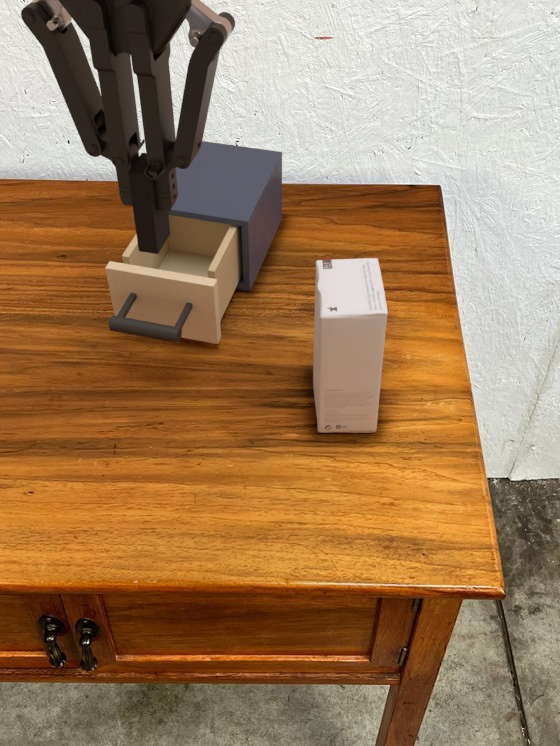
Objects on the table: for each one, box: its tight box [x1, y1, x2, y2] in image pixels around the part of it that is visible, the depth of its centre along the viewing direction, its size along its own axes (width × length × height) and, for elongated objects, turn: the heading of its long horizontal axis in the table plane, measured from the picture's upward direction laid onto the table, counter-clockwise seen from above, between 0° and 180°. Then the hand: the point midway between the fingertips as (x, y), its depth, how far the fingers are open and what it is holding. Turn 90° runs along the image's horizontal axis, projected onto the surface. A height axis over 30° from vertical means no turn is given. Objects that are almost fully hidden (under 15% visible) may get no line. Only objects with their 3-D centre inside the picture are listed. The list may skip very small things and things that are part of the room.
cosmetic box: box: [312, 257, 389, 434], centre depth 71 cm, size 8×6×15 cm
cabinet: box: [168, 140, 283, 292], centre depth 91 cm, size 15×13×10 cm
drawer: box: [104, 215, 243, 345], centre depth 82 cm, size 19×11×8 cm, turn 166°
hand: (154, 241), depth 58 cm, fingers closed
